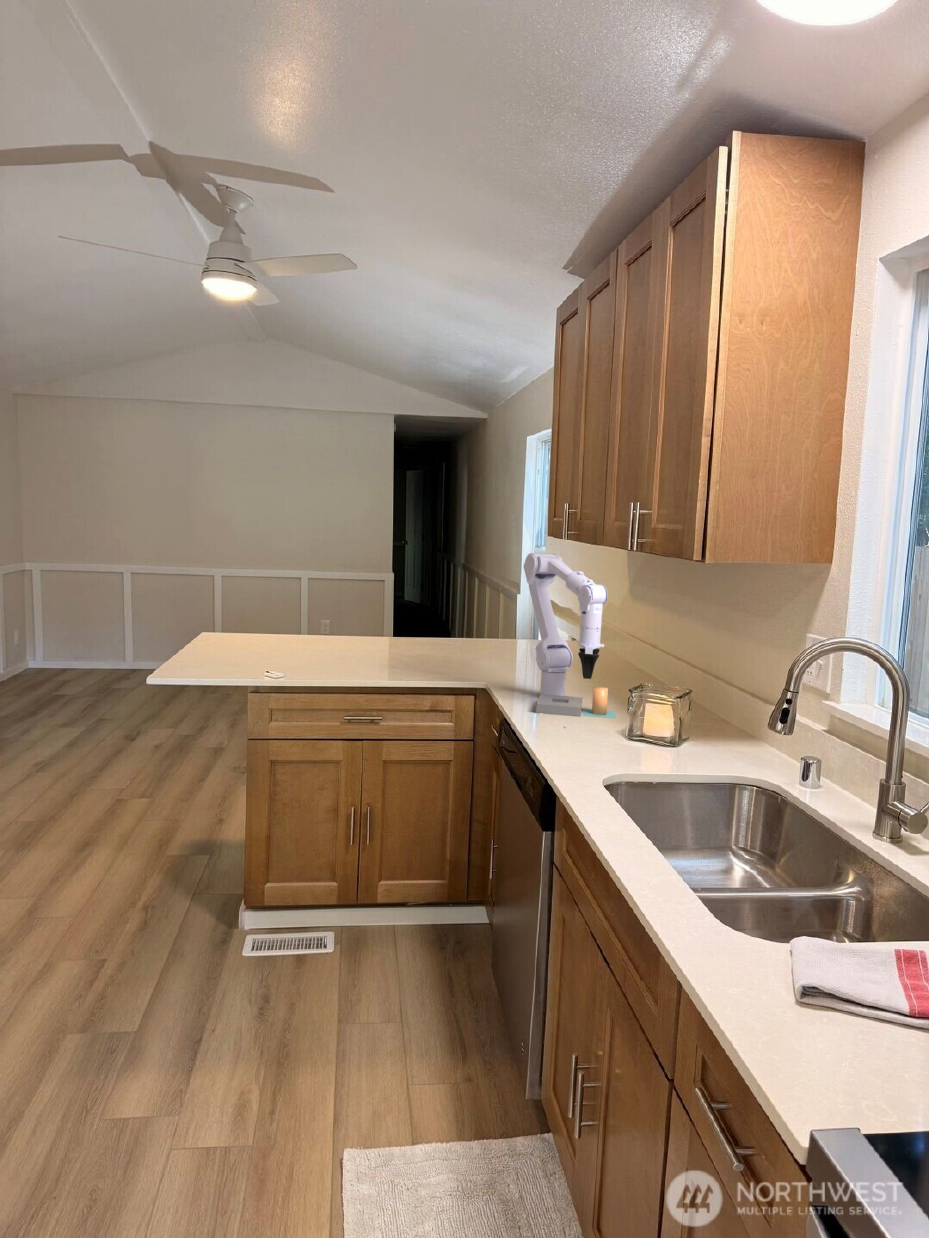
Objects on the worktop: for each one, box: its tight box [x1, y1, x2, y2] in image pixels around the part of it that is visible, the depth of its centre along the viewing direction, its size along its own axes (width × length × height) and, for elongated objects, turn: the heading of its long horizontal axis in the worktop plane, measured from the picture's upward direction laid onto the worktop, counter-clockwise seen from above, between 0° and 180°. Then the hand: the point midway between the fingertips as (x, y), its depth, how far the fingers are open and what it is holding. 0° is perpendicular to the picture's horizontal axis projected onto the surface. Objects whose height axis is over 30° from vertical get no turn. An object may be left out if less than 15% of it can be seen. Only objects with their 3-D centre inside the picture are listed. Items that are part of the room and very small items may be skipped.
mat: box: [582, 708, 617, 719], centre depth 233 cm, size 9×9×1 cm
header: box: [535, 693, 583, 718], centre depth 236 cm, size 14×12×3 cm
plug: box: [591, 686, 609, 715], centre depth 233 cm, size 4×4×7 cm
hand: (587, 676), depth 237 cm, fingers open, 7 cm apart
